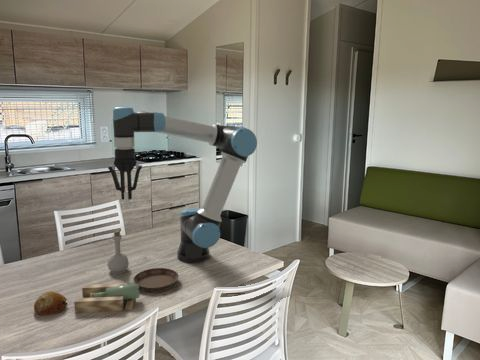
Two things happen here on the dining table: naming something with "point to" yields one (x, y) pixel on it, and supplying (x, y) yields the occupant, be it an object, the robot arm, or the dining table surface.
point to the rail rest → (100, 300)
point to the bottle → (119, 292)
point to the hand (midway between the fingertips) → (127, 207)
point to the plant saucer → (156, 279)
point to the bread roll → (50, 303)
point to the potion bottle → (117, 257)
